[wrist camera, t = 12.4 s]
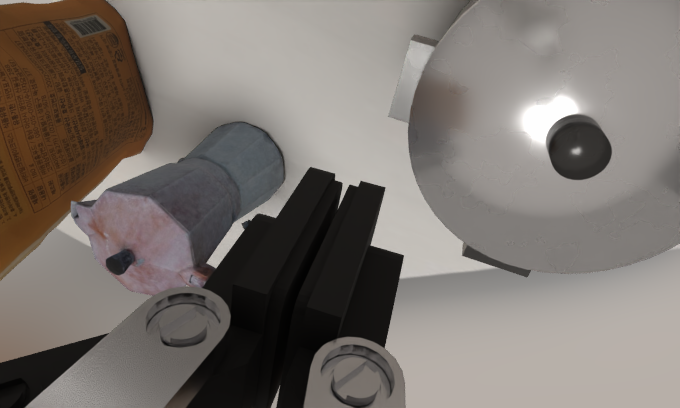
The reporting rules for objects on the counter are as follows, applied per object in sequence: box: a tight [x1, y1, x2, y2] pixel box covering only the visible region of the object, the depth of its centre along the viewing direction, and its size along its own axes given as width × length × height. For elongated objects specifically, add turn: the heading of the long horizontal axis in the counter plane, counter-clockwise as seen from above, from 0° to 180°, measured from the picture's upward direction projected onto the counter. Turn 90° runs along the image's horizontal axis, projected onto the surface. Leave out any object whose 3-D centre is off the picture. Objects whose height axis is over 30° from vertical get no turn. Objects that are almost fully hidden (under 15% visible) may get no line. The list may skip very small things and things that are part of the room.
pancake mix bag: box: [0, 0, 153, 281], centre depth 37 cm, size 7×19×28 cm, turn 6°
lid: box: [408, 0, 680, 274], centre depth 27 cm, size 22×19×4 cm
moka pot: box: [71, 122, 284, 296], centre depth 42 cm, size 10×15×20 cm, turn 73°
